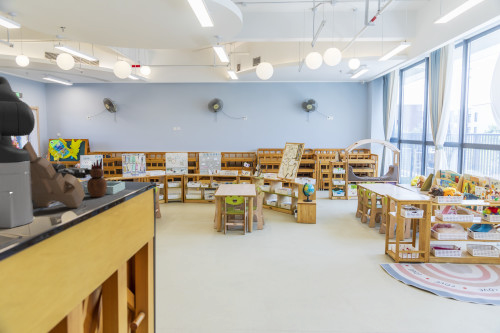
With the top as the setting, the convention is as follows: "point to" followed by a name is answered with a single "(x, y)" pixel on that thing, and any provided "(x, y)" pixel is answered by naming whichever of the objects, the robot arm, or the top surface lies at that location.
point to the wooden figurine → (97, 181)
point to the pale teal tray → (111, 187)
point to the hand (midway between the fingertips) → (91, 173)
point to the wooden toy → (52, 183)
